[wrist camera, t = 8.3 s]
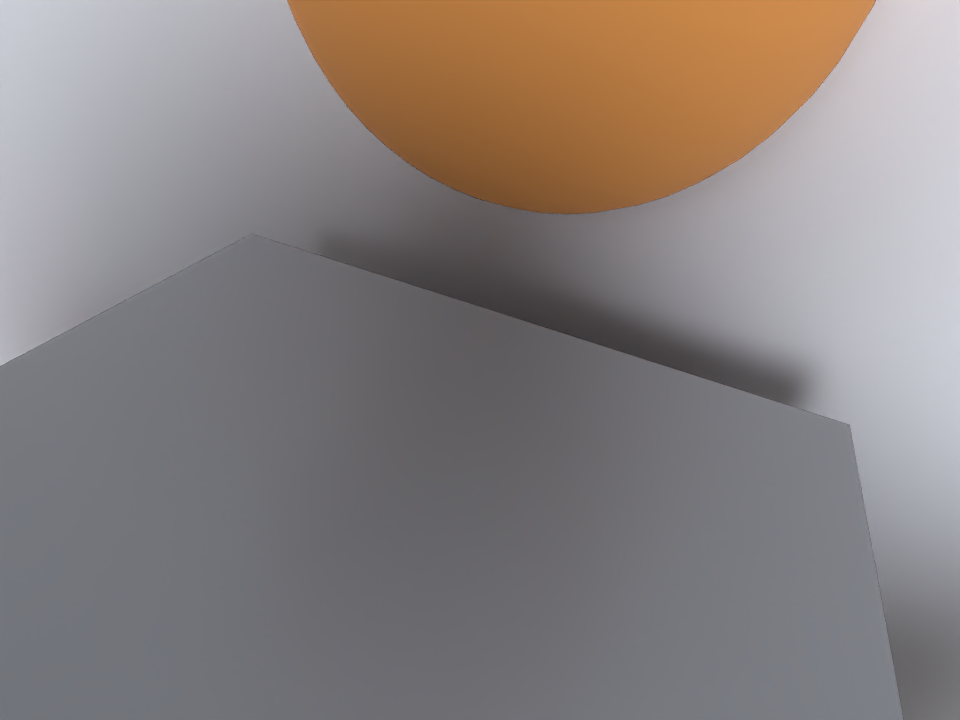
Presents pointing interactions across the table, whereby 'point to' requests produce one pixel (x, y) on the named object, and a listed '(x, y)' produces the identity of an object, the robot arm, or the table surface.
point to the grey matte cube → (414, 519)
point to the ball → (575, 87)
